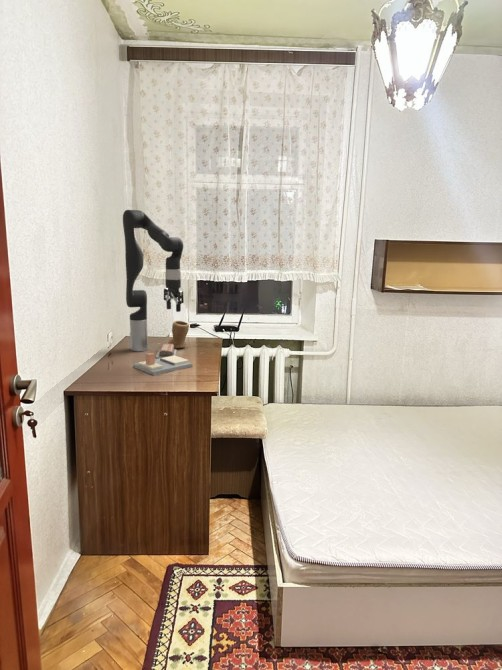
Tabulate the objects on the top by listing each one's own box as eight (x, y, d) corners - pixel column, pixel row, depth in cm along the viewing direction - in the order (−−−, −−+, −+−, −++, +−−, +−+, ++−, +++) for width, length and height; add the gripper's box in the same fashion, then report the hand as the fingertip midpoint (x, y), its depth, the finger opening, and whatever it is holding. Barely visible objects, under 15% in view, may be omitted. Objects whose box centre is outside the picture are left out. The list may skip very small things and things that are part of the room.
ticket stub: (138, 364, 212) (138, 352, 211) (148, 362, 216) (148, 350, 215) (152, 369, 204) (151, 357, 203) (162, 367, 208) (162, 355, 207)
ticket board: (133, 366, 214) (133, 361, 214) (171, 358, 229) (171, 354, 229) (153, 375, 202) (153, 369, 201) (192, 366, 217) (192, 361, 216)
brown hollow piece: (189, 349, 250) (189, 323, 247) (168, 349, 248) (167, 323, 245) (188, 343, 264) (188, 318, 261) (168, 343, 263) (168, 318, 259)
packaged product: (158, 343, 245) (176, 342, 246) (158, 351, 246) (177, 351, 247) (155, 351, 228) (174, 350, 229) (155, 360, 229) (174, 359, 230)
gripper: (158, 277, 222) (159, 309, 226) (174, 279, 212) (175, 313, 216) (171, 276, 227) (172, 307, 231) (187, 279, 217) (187, 311, 221)
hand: (173, 310), depth 223 cm, fingers open, 8 cm apart
